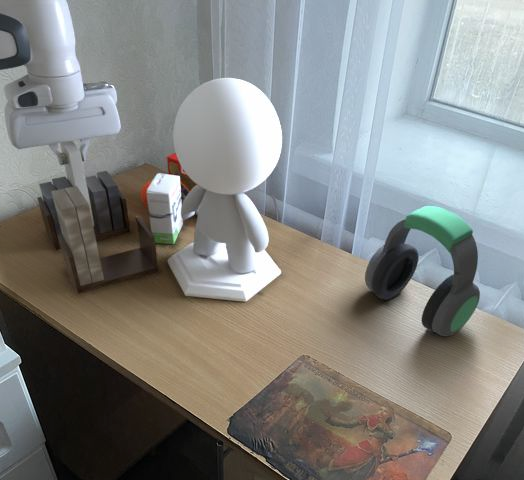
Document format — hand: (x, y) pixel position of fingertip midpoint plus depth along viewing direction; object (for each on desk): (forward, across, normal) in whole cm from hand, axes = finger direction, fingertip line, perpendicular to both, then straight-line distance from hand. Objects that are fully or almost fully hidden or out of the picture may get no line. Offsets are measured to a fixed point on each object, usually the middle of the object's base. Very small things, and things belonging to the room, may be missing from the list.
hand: (72, 162), depth 104 cm
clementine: (+16, -17, -3) cm, 24 cm away
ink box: (+16, -15, +8) cm, 23 cm away
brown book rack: (+16, 0, +16) cm, 22 cm away
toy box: (+15, -26, +4) cm, 31 cm away
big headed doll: (+15, -20, +25) cm, 36 cm away
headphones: (+15, -46, +53) cm, 72 cm away
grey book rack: (+16, 0, 0) cm, 16 cm away
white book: (+13, 0, 0) cm, 13 cm away
